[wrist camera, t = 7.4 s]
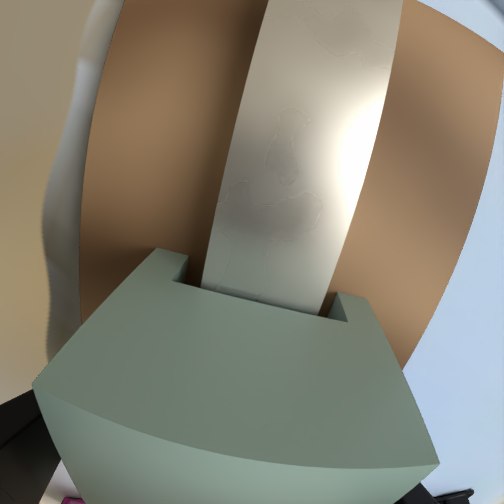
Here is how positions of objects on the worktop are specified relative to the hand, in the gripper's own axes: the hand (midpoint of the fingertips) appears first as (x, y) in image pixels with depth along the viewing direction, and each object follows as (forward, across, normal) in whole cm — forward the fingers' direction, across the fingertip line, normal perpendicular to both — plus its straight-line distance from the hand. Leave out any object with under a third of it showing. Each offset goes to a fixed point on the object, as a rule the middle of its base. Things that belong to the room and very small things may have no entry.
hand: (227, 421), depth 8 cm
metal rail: (+3, 0, -2) cm, 4 cm away
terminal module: (+2, 0, 0) cm, 2 cm away
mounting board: (+3, 0, -2) cm, 4 cm away
